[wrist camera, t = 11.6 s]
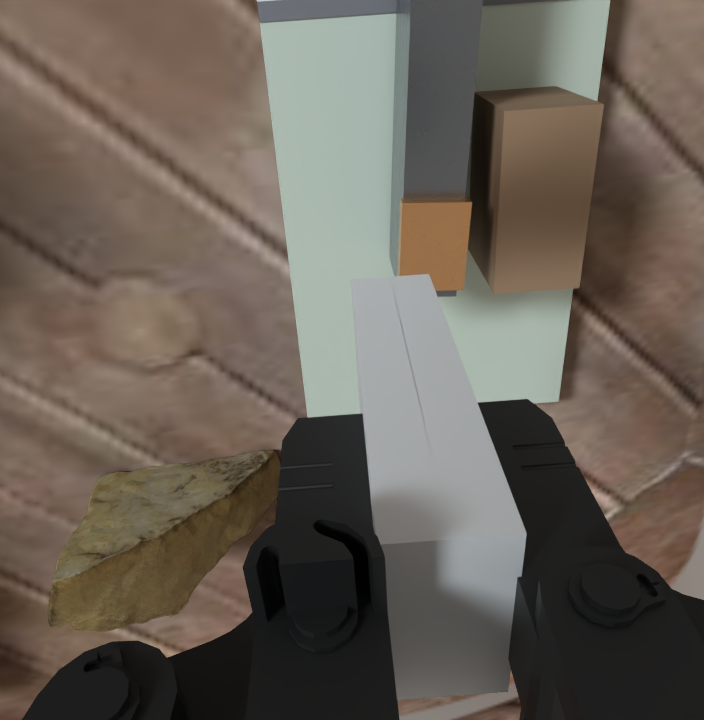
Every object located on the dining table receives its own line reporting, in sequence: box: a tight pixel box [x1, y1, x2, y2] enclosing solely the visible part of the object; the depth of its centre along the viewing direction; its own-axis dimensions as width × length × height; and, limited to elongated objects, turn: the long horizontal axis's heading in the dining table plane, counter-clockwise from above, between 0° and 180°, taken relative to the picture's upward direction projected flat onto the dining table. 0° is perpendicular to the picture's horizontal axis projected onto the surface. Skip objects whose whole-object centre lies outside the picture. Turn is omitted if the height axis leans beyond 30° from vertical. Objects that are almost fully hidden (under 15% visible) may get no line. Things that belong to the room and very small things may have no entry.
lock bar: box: [389, 0, 483, 297], centre depth 19 cm, size 17×3×5 cm, turn 0°
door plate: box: [257, 0, 610, 417], centre depth 22 cm, size 32×12×2 cm, turn 4°
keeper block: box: [468, 86, 604, 294], centre depth 22 cm, size 6×3×4 cm, turn 4°
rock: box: [48, 450, 281, 632], centre depth 31 cm, size 11×9×10 cm
